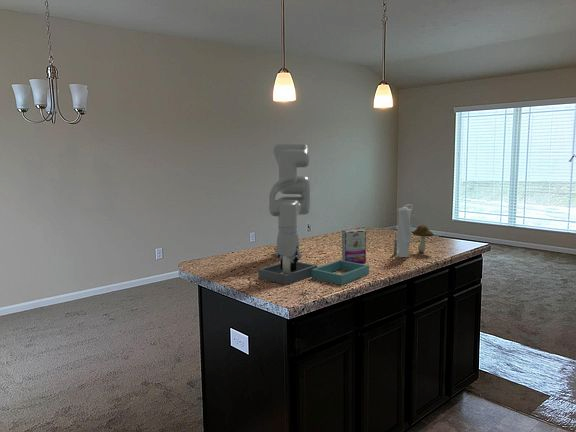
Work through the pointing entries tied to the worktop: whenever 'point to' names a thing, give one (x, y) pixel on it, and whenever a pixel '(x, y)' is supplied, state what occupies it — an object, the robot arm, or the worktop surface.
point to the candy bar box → (354, 246)
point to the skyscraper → (403, 233)
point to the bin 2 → (326, 275)
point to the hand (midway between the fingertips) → (288, 269)
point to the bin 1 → (274, 274)
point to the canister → (287, 265)
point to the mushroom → (422, 236)
